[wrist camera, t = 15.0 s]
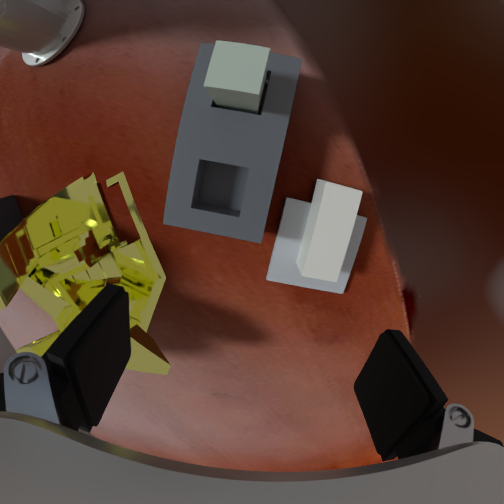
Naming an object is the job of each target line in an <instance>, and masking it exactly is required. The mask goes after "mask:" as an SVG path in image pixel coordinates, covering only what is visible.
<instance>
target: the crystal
mask: <svg viewBox="0 0 504 504" xmlns="http://www.w3.org/2000/svg"><path fill="white" fill-rule="evenodd" d="M106 181H107V187H109V186H111V185H113V184H115V183H117V182H119V184H120V187H121V189H122V192H123V195H124V197H125V200H126V203H127V205H128V208H129V210H130V213H131V215H132V218H133V220H134V223H135V225H136V228H137V230H138V232H139V235H140V237H141V238H140V239H137V240H135V241H132V242H130V243H127V242H126V240H125V241H123V242H121V241H120V239H119V236H118V234H117V232H116V229H115V227H114V224H113V222H112V219H111V217H110V214H109V212H108V209H107V207H106V204H105V201H104V199H103V196H102V193H101V190H100V188H99V185H98V183H97V182H96V179H95V176H94V173H91V174H89V175H88V176H86V177H81V178H80V179H78V180H77V181H75V182H73V183H72V184H70V185H69V186H67V187H66V188H64V189H63V190H61V191H60V192H58V193H57V194H55V195H54V196H53V197H51V198H50V199H48V200H47V201H45V202H43V203H42V204H41V205H39V206H38V207H37V208H36V209H34V210H33V211H32V212H31V213H30V214H29V215H28V216H26V217H25V218H24V219H23V220H22V221H21V222H20V223H19V224H18V225H17V226H16V227H15V228H14V229H12V230H11V231H10V232H9V233H8V234H7V235H6V236H5V237H4V238H3V239H2V240H1V241H0V309H3V308H5V307H7V305H8V304H9V303H10V301H11V300H12V298H13V297H14V295H15V294H16V292H17V291H18V289H19V288H20V289H21V290H22V291H23V292H24V293H25V294H26V295H28V296H29V297H30V298H31V299H32V300H33V301H34V302H35V303H36V304H37V305H39V306H40V307H41V308H42V309H43V310H44V311H45V312H47V313H48V314H49V315H50V316H51V318H52V319H53V321H54V323H55V325H56V326H57V328H58V331H56V332H54V333H52V334H50V335H47V336H45V337H43V338H41V339H39V340H36V341H34V342H32V343H30V344H28V345H25V346H23V347H21V348H19V349H17V350H16V351H17V353H21V352H31V353H35V354H37V355H39V356H40V357H42V355H43V354H44V353H45V352H46V351H47V349H48V348H49V347H50V346H51V345H52V343H53V342H54V341H55V340H56V339H57V337H58V336H59V335H60V334H61V333H62V332H63V331H64V329H65V328H66V327H67V326H68V325H69V324H70V323H71V321H72V320H73V319H74V318H75V317H76V316H77V315H78V314H79V313H80V312H81V311H82V310H83V309H84V308H85V307H86V306H87V305H88V304H89V303H90V301H91V300H92V299H93V298H94V297H95V296H96V295H97V294H98V293H99V292H100V291H101V290H102V289H103V288H104V287H105V286H106V285H107V284H108V283H111V284H115V285H119V286H123V287H124V289H125V291H126V292H128V293H129V318H130V338H131V356H130V359H129V361H128V363H127V365H126V367H125V369H128V370H135V371H141V372H148V373H156V374H164V375H167V374H168V371H169V369H170V366H171V365H170V363H169V362H168V360H167V359H166V358H165V356H164V355H163V353H162V352H161V350H160V349H159V347H158V346H157V344H156V342H155V341H154V339H153V338H152V337H150V336H149V335H148V334H147V333H146V332H147V329H148V326H149V324H150V321H151V318H152V315H153V312H154V309H155V307H156V304H157V301H158V299H159V296H160V293H161V290H162V288H163V285H164V282H165V280H166V276H165V274H164V271H163V269H162V267H161V264H160V262H159V260H158V258H157V255H156V253H155V251H154V249H153V246H152V244H151V242H150V239H149V237H148V235H147V232H146V230H145V227H144V225H143V223H142V220H141V218H140V215H139V213H138V210H137V208H136V205H135V202H134V200H133V197H132V195H131V192H130V189H129V187H128V184H127V181H126V178H125V176H124V173H123V172H121V173H119V174H118V175H116V176H114V177H112V178H110V179H108V180H106Z"/></svg>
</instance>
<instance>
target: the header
mask: <svg viewBox="0 0 504 504" xmlns="http://www.w3.org/2000/svg"><path fill="white" fill-rule="evenodd" d="M214 46H215V44H210V43H201V45H200V48H199V51H198V55H197V58H196V62H195V65H194V69H193V72H192V76H191V80H190V84H189V87H188V91H187V95H186V99H185V104H184V108H183V112H182V116H181V121H180V126H179V130H178V135H177V140H176V145H175V150H174V155H173V161H172V166H171V172H170V178H169V184H168V191H167V197H166V204H165V212H164V219H163V224H167V225H172V226H177V227H182V228H187V229H192V230H197V231H202V232H207V233H212V234H217V235H222V236H227V237H232V238H237V239H242V240H246V241H251V242H256V243H261V242H262V237H263V233H264V229H265V224H266V220H267V216H268V211H269V207H270V203H271V198H272V194H273V189H274V185H275V181H276V176H277V172H278V167H279V163H280V158H281V154H282V149H283V145H284V140H285V136H286V132H287V127H288V123H289V118H290V113H291V109H292V104H293V100H294V95H295V91H296V86H297V82H298V77H299V72H300V68H301V63H302V59H299V58H295V57H291V56H286V55H282V54H277V53H272V52H270V53H269V60H268V67H267V74H266V81H265V86H264V91H263V95H262V99H261V103H260V108H259V112H258V115H256V114H251V113H245V112H240V111H234V110H228V109H222V108H218V106H217V105H216V103H215V102H214V100H213V99H212V97H211V96H210V95H209V93H208V92H207V90H206V89H205V87H204V82H205V79H206V75H207V71H208V67H209V64H210V60H211V57H212V53H213V50H214Z"/></svg>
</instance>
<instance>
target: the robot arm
mask: <svg viewBox="0 0 504 504" xmlns="http://www.w3.org/2000/svg"><path fill="white" fill-rule="evenodd" d="M84 12H85V9H84V4H83V2H82V1H81V0H0V46H1V47H5V48H8V49H12V50H15V51H19V52H22V57H23V60H24V62H25V63H26V64H27V65H30V66H35V67H37V66H41V65H44V64H46V63H48V62H49V61H51V60H52V59H54V58H55V57H56V56H57V55H59V54H60V53H61V52H62V51H63V50H64V49H65V47H66V46H67V45H68V44H69V43H70V41H71V40H72V39H73V37H74V36H75V34H76V33H77V31H78V29H79V27H80V25H81V23H82V20H83V17H84ZM130 356H131V338H130V318H129V293H128V292H126V291H125V289H124V287H123V286H119V285H115V284H111V283H108V284H107V285H106V286H105V287H104V288H103V289H102V290H101V291H100V292H99V293H98V294H97V295H96V296H95V297H94V298H93V299H92V300H91V301H90V303H89V304H88V305H87V306H86V307H85V308H84V309H83V310H82V311H81V312H80V313H79V314H78V315H77V316H76V317H75V318H74V319H73V320H72V321H71V323H70V324H69V325H68V326H67V327H66V328H65V329H64V331H63V332H62V333H61V334H60V335H59V336H58V337H57V339H56V340H55V341H54V342H53V343H52V345H51V346H50V347H49V348H48V349H47V351H46V352H45V353H44V354H43V355H42V357H40V356H39V355H37V354H35V353H31V352H21V353H17V354H15V355H13V356H12V357H11V358H10V359H9V360H8V361H7V362H6V364H5V366H4V373H0V504H504V448H503V447H504V446H503V444H502V442H501V441H500V440H497V439H495V438H493V437H491V436H489V435H487V434H485V433H483V432H481V431H478V430H476V429H474V419H473V416H472V414H471V413H470V412H469V410H468V409H467V408H465V407H464V406H462V405H459V404H450V405H449V406H448V407H446V409H444V407H443V406H444V405H445V403H446V402H447V401H448V398H447V397H446V395H445V393H444V392H443V391H442V389H441V387H440V386H439V384H438V383H437V381H436V380H435V378H434V377H433V375H432V374H431V372H430V371H429V370H428V368H427V367H426V365H425V364H424V362H423V361H422V359H421V358H420V357H419V355H418V354H417V353H416V351H415V350H414V348H413V347H412V345H411V344H410V343H409V341H408V340H407V339H406V337H405V336H404V335H403V333H402V332H401V331H400V330H390V329H387V330H385V331H384V333H382V334H380V336H379V338H378V340H377V342H376V344H375V346H374V348H373V350H372V352H371V354H370V356H369V358H368V359H367V361H366V363H365V365H364V367H363V369H362V370H361V372H360V374H359V376H358V377H357V379H356V381H355V383H354V391H355V394H356V396H357V399H358V401H359V404H360V407H361V409H362V412H363V415H364V417H365V420H366V423H367V426H368V428H369V431H370V434H371V437H372V439H373V442H374V445H375V448H376V451H377V453H378V454H380V455H381V458H382V461H387V460H392V459H395V458H396V457H397V456H398V460H394V461H389V462H384V463H379V464H373V465H367V466H360V467H353V468H345V469H336V470H324V471H307V472H263V471H246V470H234V469H224V468H216V467H209V466H202V465H196V464H190V463H184V462H179V461H175V460H170V459H165V458H161V457H157V456H153V455H149V454H145V453H142V452H138V451H134V450H131V449H127V448H124V447H121V446H118V445H115V444H112V443H109V442H106V441H103V440H100V439H97V438H95V437H92V436H89V435H86V434H84V433H81V432H78V429H79V428H80V429H82V430H84V431H87V432H89V433H90V431H91V429H92V427H93V426H95V427H96V426H97V425H98V424H99V422H100V420H101V418H102V415H103V413H104V411H105V409H106V407H107V405H108V402H109V400H110V398H111V396H112V394H113V392H114V390H115V388H116V386H117V384H118V382H119V379H120V377H121V375H122V373H123V371H124V369H125V367H126V365H127V363H128V361H129V359H130Z"/></svg>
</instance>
